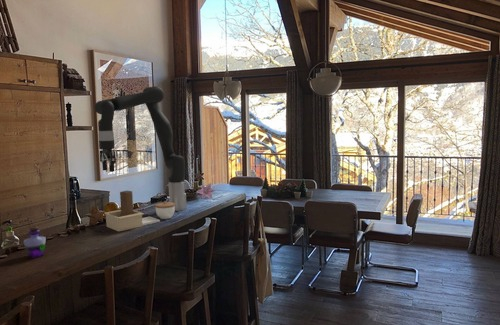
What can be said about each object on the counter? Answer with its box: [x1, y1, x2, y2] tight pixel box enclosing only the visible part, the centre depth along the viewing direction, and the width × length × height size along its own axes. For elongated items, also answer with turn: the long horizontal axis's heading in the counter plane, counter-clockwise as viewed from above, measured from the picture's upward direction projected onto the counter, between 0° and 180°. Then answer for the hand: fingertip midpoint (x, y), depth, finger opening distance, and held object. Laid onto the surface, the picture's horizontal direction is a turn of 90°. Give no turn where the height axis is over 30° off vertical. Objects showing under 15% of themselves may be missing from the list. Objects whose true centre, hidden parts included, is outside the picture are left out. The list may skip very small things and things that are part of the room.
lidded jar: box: [154, 200, 176, 220], centre depth 222 cm, size 11×11×9 cm
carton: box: [103, 209, 145, 232], centre depth 205 cm, size 13×18×7 cm
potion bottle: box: [23, 226, 47, 259], centre depth 162 cm, size 9×9×12 cm
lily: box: [196, 182, 216, 200], centre depth 277 cm, size 12×12×10 cm
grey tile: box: [142, 216, 161, 226], centre depth 214 cm, size 10×11×1 cm
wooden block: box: [119, 190, 134, 217], centre depth 205 cm, size 9×4×18 cm, turn 150°
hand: (108, 170), depth 207 cm, fingers open, 8 cm apart
